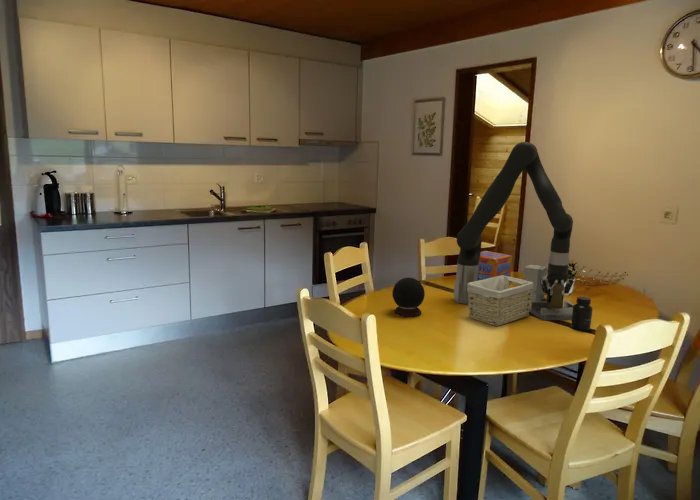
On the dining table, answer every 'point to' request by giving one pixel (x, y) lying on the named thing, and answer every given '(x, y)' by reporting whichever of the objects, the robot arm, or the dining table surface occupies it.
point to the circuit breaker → (536, 280)
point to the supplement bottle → (582, 314)
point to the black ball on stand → (408, 297)
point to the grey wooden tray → (551, 311)
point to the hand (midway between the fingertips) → (554, 303)
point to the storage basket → (499, 299)
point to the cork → (556, 296)
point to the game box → (494, 265)
